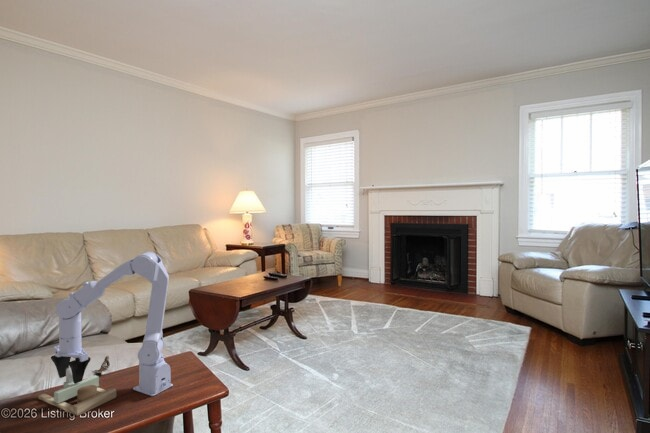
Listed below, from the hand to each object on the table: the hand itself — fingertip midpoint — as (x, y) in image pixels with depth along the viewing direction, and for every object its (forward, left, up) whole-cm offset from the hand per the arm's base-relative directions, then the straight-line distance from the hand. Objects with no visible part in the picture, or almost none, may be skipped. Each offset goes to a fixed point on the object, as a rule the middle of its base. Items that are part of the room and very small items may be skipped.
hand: (70, 379), depth 115 cm
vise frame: (-4, 0, -5) cm, 6 cm away
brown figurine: (+7, -15, -5) cm, 17 cm away
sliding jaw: (-2, 0, -4) cm, 4 cm away
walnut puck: (-8, 0, -5) cm, 10 cm away
